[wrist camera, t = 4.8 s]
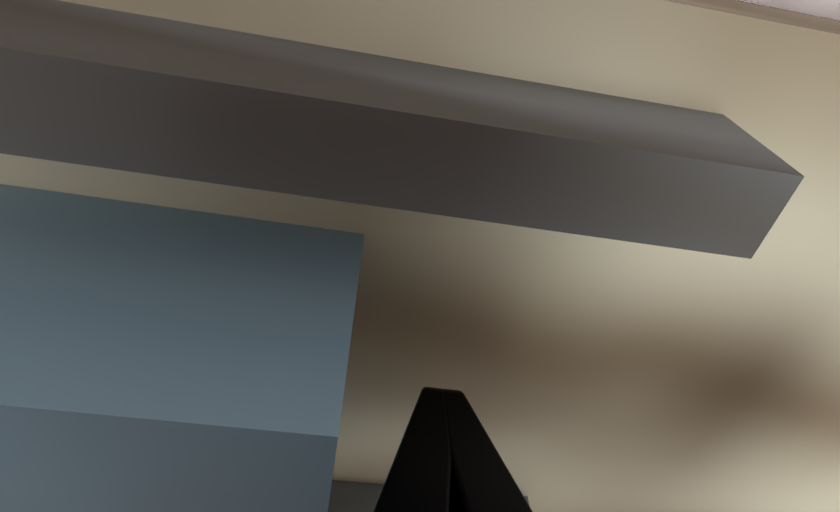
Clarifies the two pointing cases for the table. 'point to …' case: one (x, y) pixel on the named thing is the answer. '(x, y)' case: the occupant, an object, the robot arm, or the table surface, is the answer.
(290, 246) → the blue block
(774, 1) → the table surface
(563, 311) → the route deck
